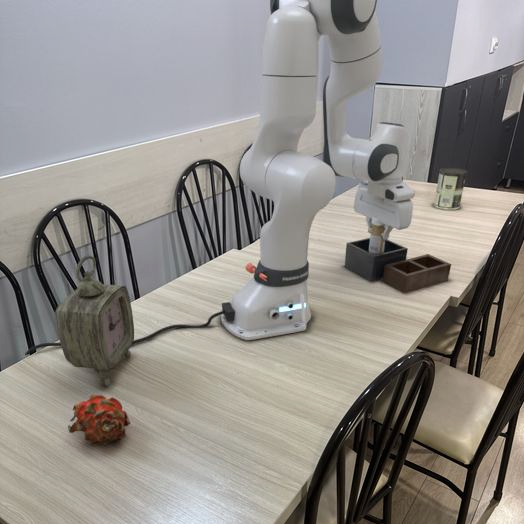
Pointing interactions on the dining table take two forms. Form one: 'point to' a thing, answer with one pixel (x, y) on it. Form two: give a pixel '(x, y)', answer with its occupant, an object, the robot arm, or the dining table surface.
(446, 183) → the coffee can
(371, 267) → the dark grey open box
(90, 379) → the dining table surface
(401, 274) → the rack
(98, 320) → the tabletop clock
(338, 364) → the dining table surface
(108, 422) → the dragon fruit
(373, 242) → the spice jar
